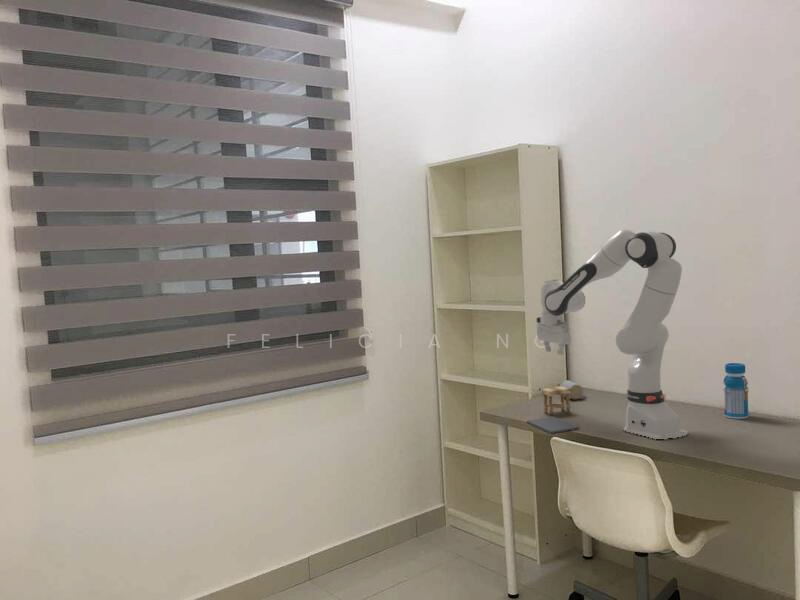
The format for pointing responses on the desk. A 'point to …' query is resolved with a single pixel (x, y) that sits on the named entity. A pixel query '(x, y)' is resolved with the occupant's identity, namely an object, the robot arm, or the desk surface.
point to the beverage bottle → (735, 391)
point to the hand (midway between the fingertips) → (554, 353)
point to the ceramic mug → (573, 390)
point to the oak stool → (555, 392)
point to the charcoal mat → (552, 425)
